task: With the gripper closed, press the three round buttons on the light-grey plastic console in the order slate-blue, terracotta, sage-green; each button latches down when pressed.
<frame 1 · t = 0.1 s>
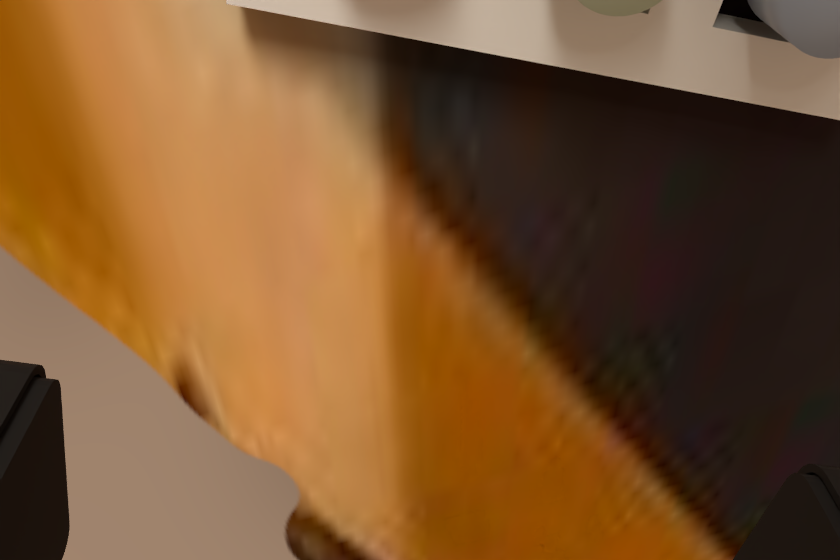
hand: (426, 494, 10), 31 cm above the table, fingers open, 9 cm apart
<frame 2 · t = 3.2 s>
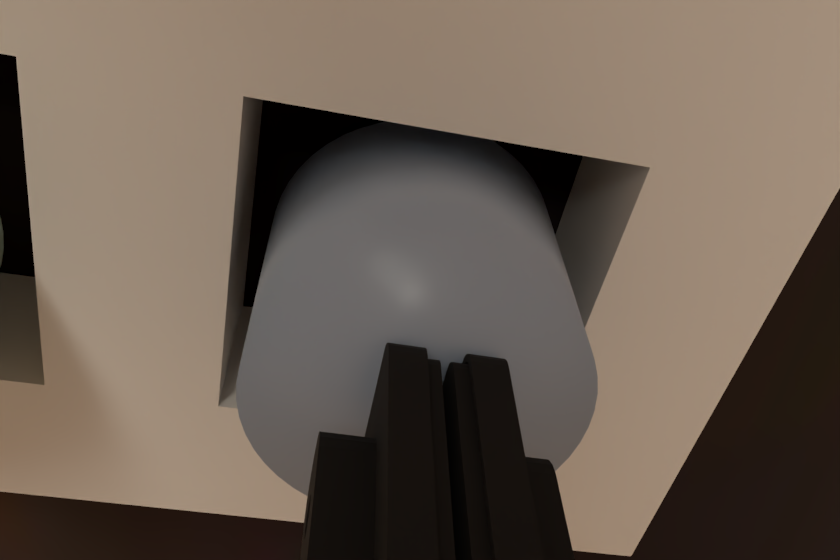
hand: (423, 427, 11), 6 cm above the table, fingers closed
button slate: (414, 317, 13), point 4 cm above the table, slide at 1.3 cm, touching gripper
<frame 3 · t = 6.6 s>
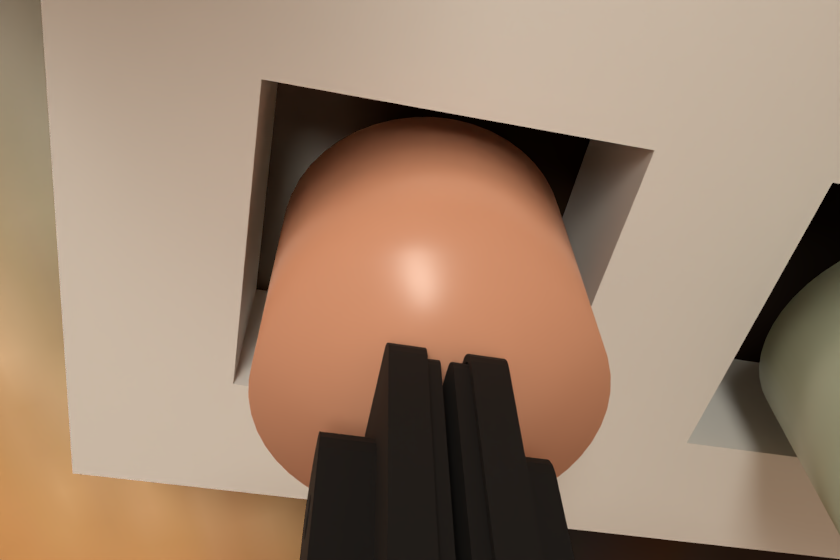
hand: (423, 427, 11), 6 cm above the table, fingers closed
console: (829, 260, 17), on the table
button terracotta: (425, 315, 13), point 4 cm above the table, slide at 0.8 cm, touching gripper
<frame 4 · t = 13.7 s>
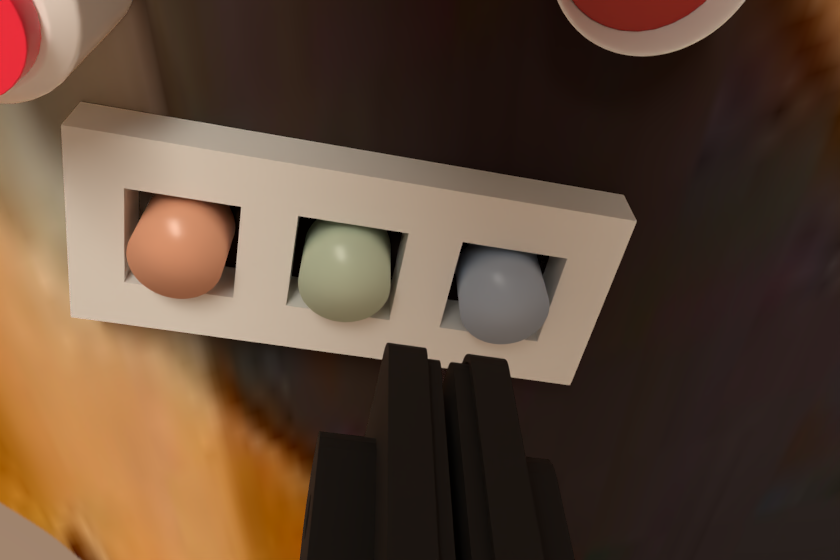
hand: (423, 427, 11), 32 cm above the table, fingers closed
button slate: (500, 288, 46), point 2 cm above the table, slide at 2.3 cm
button sage: (346, 265, 45), point 2 cm above the table, slide at 2.3 cm
console: (348, 242, 47), on the table
button terracotta: (183, 240, 44), point 2 cm above the table, slide at 2.3 cm
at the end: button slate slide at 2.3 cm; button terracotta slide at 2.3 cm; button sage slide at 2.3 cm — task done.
